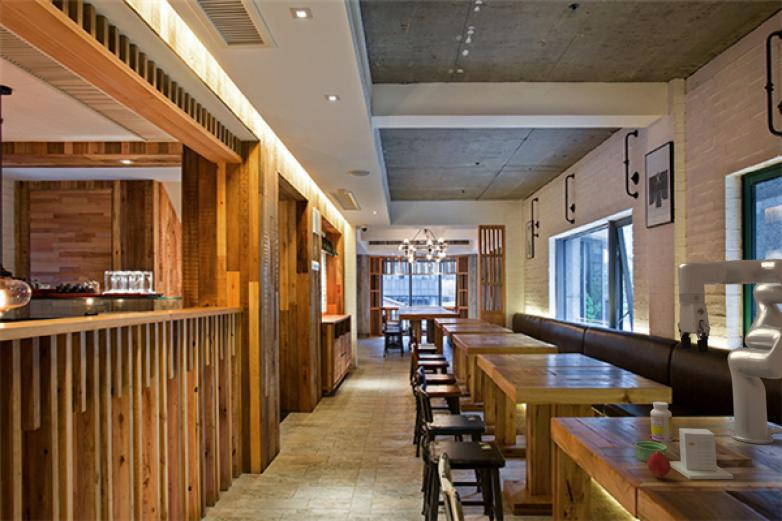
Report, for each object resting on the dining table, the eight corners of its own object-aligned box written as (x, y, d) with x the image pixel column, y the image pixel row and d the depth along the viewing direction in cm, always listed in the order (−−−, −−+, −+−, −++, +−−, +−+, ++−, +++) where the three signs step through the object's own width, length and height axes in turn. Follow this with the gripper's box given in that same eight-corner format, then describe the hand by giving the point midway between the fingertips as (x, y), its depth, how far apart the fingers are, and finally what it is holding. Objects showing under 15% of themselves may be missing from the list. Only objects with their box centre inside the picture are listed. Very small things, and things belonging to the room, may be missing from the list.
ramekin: (670, 465, 156) (669, 450, 157) (637, 462, 159) (637, 448, 159) (664, 456, 165) (663, 442, 165) (633, 453, 168) (632, 440, 168)
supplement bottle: (668, 437, 185) (666, 401, 185) (676, 443, 178) (674, 405, 179) (648, 437, 185) (647, 400, 186) (656, 442, 179) (654, 405, 179)
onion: (643, 475, 149) (642, 446, 149) (662, 474, 149) (661, 445, 150) (655, 482, 143) (654, 453, 143) (675, 481, 143) (674, 452, 144)
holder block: (715, 447, 172) (715, 441, 173) (752, 466, 154) (751, 459, 155) (660, 448, 173) (660, 442, 173) (691, 466, 155) (691, 459, 155)
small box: (710, 465, 153) (708, 428, 154) (717, 471, 148) (715, 434, 148) (680, 463, 155) (678, 427, 155) (686, 469, 149) (684, 432, 150)
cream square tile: (707, 464, 157) (707, 460, 157) (733, 478, 145) (732, 475, 145) (667, 464, 157) (667, 461, 157) (689, 479, 145) (689, 475, 145)
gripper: (719, 299, 166) (721, 353, 165) (688, 298, 183) (691, 347, 182) (695, 300, 166) (697, 354, 165) (667, 298, 183) (669, 347, 182)
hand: (694, 350), depth 173 cm, fingers open, 9 cm apart
